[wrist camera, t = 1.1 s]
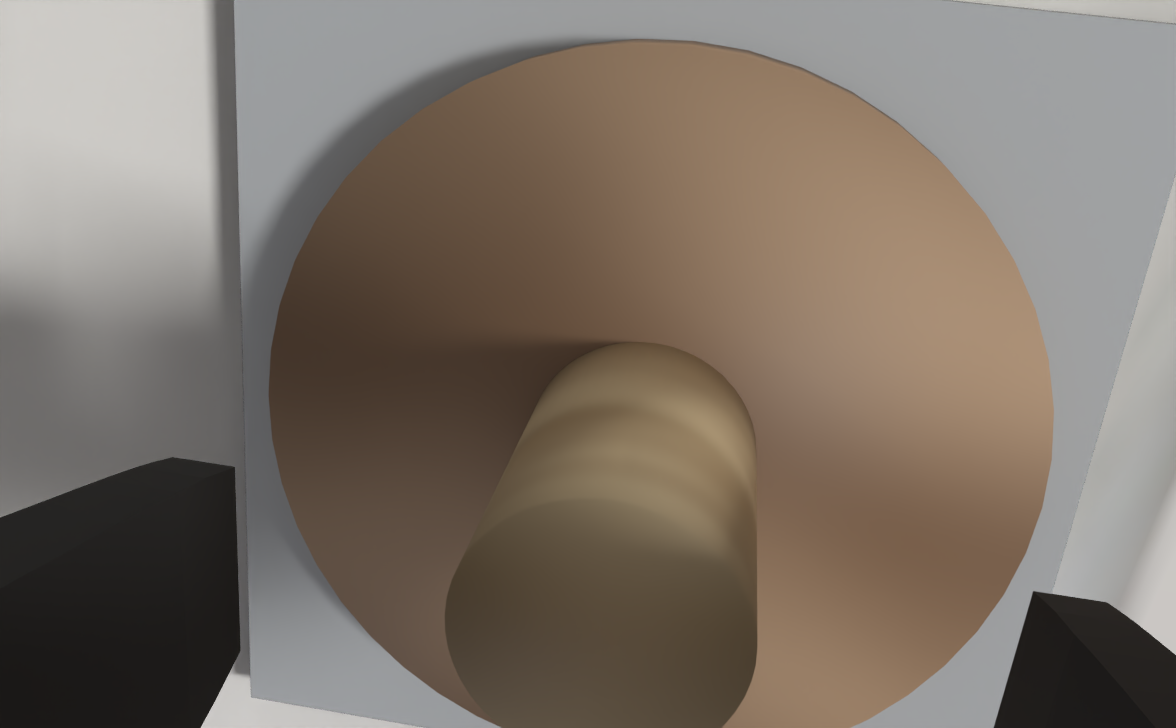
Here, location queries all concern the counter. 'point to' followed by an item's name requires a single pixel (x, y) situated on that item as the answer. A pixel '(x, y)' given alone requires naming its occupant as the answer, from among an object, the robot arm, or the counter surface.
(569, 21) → the mat
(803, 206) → the lid
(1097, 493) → the counter surface
